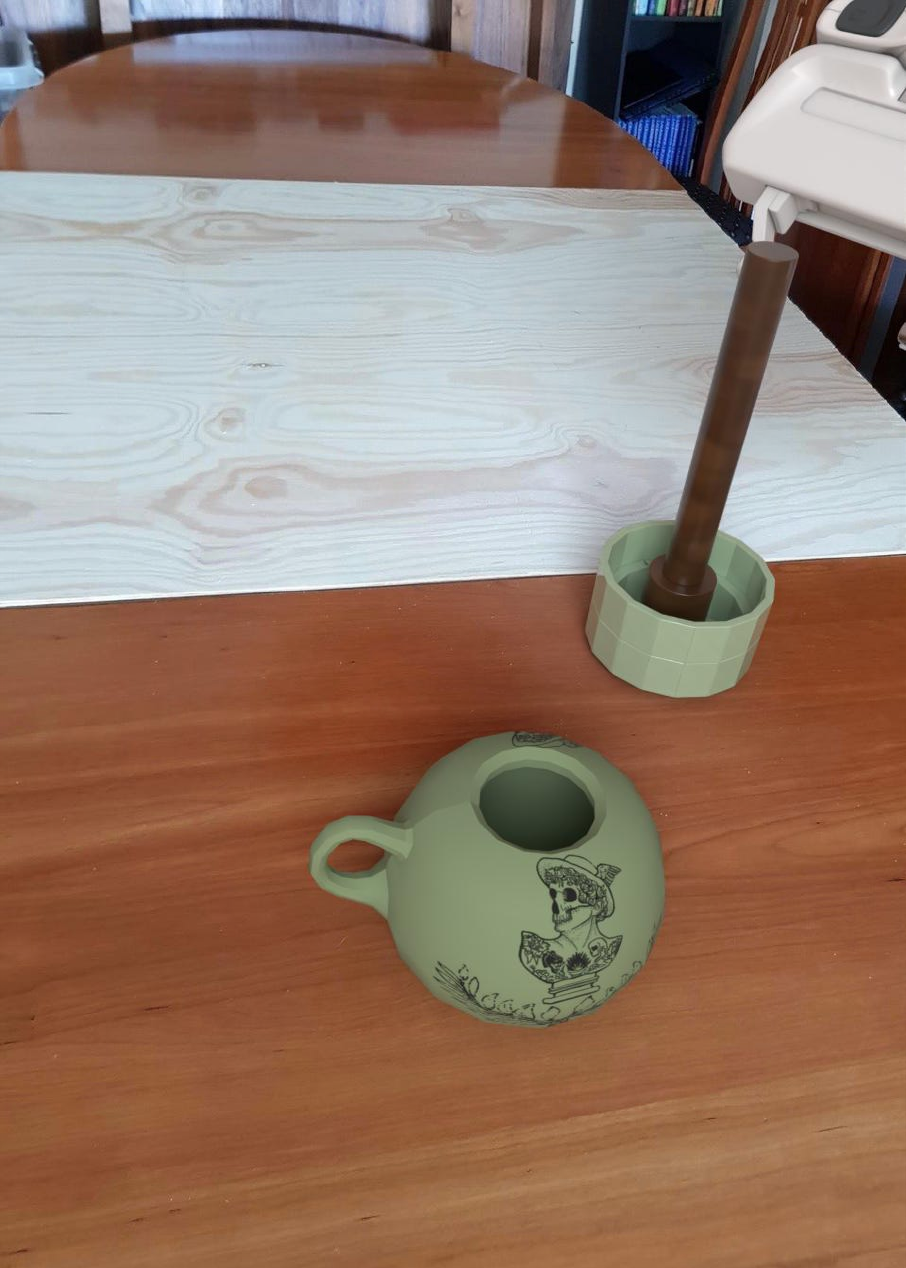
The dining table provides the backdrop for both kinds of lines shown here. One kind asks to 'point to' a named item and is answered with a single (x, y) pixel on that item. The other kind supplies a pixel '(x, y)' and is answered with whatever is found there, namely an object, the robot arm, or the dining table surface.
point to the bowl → (670, 646)
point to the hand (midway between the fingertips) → (826, 314)
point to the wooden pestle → (722, 434)
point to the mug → (513, 878)
